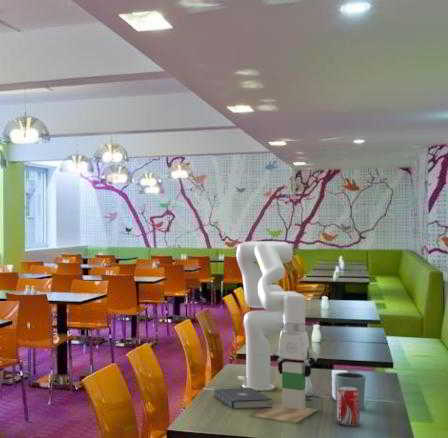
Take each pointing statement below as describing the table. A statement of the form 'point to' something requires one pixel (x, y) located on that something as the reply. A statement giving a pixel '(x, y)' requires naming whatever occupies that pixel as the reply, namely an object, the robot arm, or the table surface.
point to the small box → (335, 382)
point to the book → (242, 398)
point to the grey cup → (353, 384)
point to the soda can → (348, 406)
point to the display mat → (284, 413)
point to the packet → (293, 385)
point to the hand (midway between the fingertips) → (294, 374)
